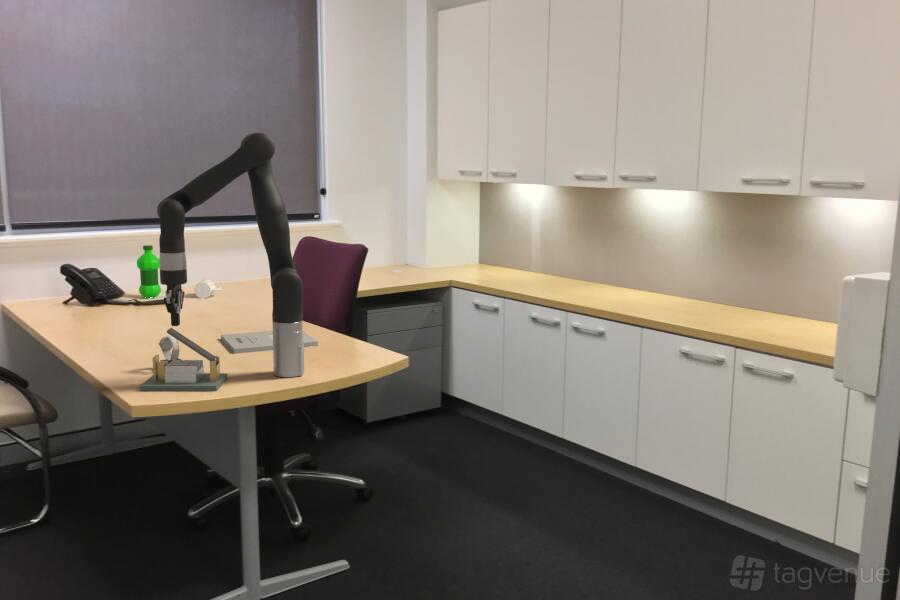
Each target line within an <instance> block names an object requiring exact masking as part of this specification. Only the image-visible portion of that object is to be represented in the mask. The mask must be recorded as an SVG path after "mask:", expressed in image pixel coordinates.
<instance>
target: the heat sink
mask: <svg viewBox="0 0 900 600" xmlns="http://www.w3.org/2000/svg"><path fill="white" fill-rule="evenodd" d="M204 373H205V366H204V360H203V359H181V360H172V361H171V363H169V364H167V366H165V384H196V383H197V382H198V381H199V380H200V379H201V378H202V377H203V376H204Z"/></svg>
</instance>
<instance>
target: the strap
mask: <svg viewBox="0 0 900 600" xmlns="http://www.w3.org/2000/svg"><path fill="white" fill-rule="evenodd" d="M166 334H168V335H169V336H173V337H174V338H176V339H177V340H178V342H180V343H182V344H183V345H185V346H186V347H187V348H190V350H193V351H194V352H196V353H197V354H198V355H200V356H202V357H203V358H204V359H206V360H208V361H209V362H210V361H216V362H217V361H218V360H219V359H220V357H219V356H217V355H214V354H212V353H211V352H209V351H207V350H206V349H204V348H203V347H201V346H200V345H198V344H197V343H195V342H194V341H193V340H191V339H189V338H188V337H187V336H185V335H183V334H182V333H180V331H179V332H178V331H177V330H176V329H174V328H173V327H170V328H169V329H167V331H166ZM218 357H219V358H218Z"/></svg>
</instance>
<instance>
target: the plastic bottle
mask: <svg viewBox="0 0 900 600" xmlns="http://www.w3.org/2000/svg"><path fill="white" fill-rule="evenodd" d="M153 249H154V247H153V245H150V244H148V245H143V246H142V250H143V251H144V252H143V254H141V255H140V257H138V258H137V260H136V266H137V268H138V269H139V272H140V274H139V275H140V286H139V288H138V293H139V294H140V295H141V296H142V297H143V298H145V297H146V298H145V299H147V298H150V297H156V296H157V297H158V296H159V295H160V293H161V291H162V288H161V286H160V284H159V270H160V266H159V257H158V256H157V255H155V254H154V253H153V251H152V250H153ZM157 297H156V298H157Z"/></svg>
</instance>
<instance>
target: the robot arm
mask: <svg viewBox="0 0 900 600" xmlns="http://www.w3.org/2000/svg"><path fill="white" fill-rule="evenodd" d="M275 152H276V145H275V141H274V139H273V138H272V137H271V136H270V135H268V134H266V133H264V132H254V133H249V134H247V135H245V136H244V138H243V139H242V140H241V142H240V146H239V148H237V149H236V150H235V151H234V152H233V153H232V154H230V156H228V157H226V158H225V159H224V160H222V161H221V162H219V163H216V164H215V165H214V166H212V167H210V168H209V169H207V170H205V171H204V172H202V173H201V174H199V175H198V176H196V177H195V178H193V179H192V180H191V181H189V182H188V183H187V184H185V185H184V186H183V187H182V188H180V189H179V190H176V191H175V192H174V193H172V194H170V195H168V196H167V197H165V198H163V200H161V201H160V202H159V203H158V204H157V208H156V214H157V217H159V226H160V229H159V230H160V234H159V238H158V240H159V241H158V242H159V257H158V258H159V266H160V267H159V282H160V284H161V285H165V286H166V290H165V297H163V302H164V305H165V308H166V311H167V313H169V314H170V325H171V326H172V327H178V326H180V325H181V314H180V313H181V311H182V310H183V305H184V299H185V291H184V290H183V289H182V288H183V287H182V285H185V284H187V283H188V269H187V268H188V267H187V266H188V265H187V257H186V256H187V255H186V245H185V244H186V241H185V225H186V213H188V212H190V211H191V210H193V209H194V208H196V207H199V206H201V205H202V204H204V203H205V202H207V201H208V200H210V199H211V198H212V197H214V196H215V195H216V194H218V193H219V192H221V191H222V190H223V189H224V188H225V187H227V186H228V185H229V184H231V183H232V182H233V181H235V180H236V179H237V178H239V177H240V176H242V175H243V174H245V173H247V175H248V179H249V183H250V189H251V196H252V202H253V209H254V213H255V217H256V223H257V228H258V230H259V231H258V232H259V234H260V238H261V240H262V243H263V247H264V249H265V251H266V255H267V260H268V267H269V275H270V287H271V289H272V290H271V291H272V314H271V317H272V318H271V319H272V331H273V350H272V354H273V356H272V357H273V359H272V360H273V375H274V376H276V377H279V378H296V377H303V375H304V373H305V347H304V342H303V331H304V330H303V327H304V326H303V314H304V286H303V279H302V278H301V276H300V275H299V274H298V271H297V268H296V265H295V262H294V260H293V255H292V252H291V251H292V249H291V234H290V233H291V232H290V231H291V230H290V224H289V218H288V213H287V209H286V206H285V205H286V204H285V201H284V199H283V196H282V194H281V192H280V189H279V188H278V185H277V183H276V181H275V180H276V179H275V178H274V173H273V166H272V162H271V161H272V159H273V157H274V155H275Z"/></svg>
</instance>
